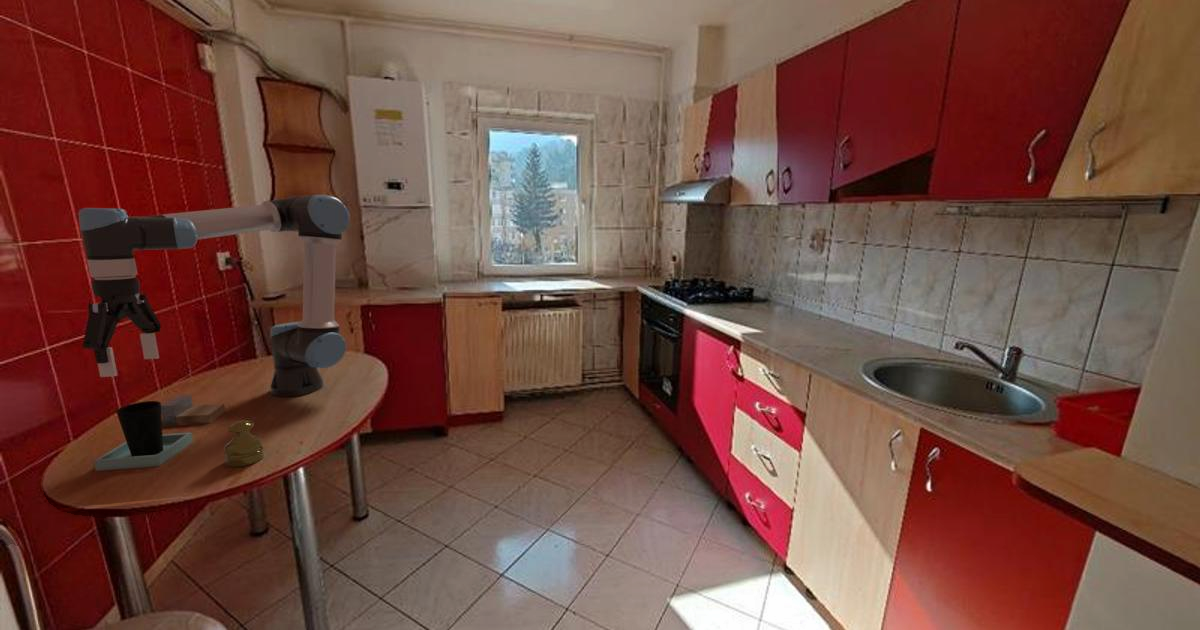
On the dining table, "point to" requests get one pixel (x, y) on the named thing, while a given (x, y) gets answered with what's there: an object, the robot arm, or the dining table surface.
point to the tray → (124, 460)
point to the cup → (142, 427)
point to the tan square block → (200, 414)
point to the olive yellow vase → (243, 445)
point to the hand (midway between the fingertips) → (131, 367)
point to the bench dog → (175, 409)
